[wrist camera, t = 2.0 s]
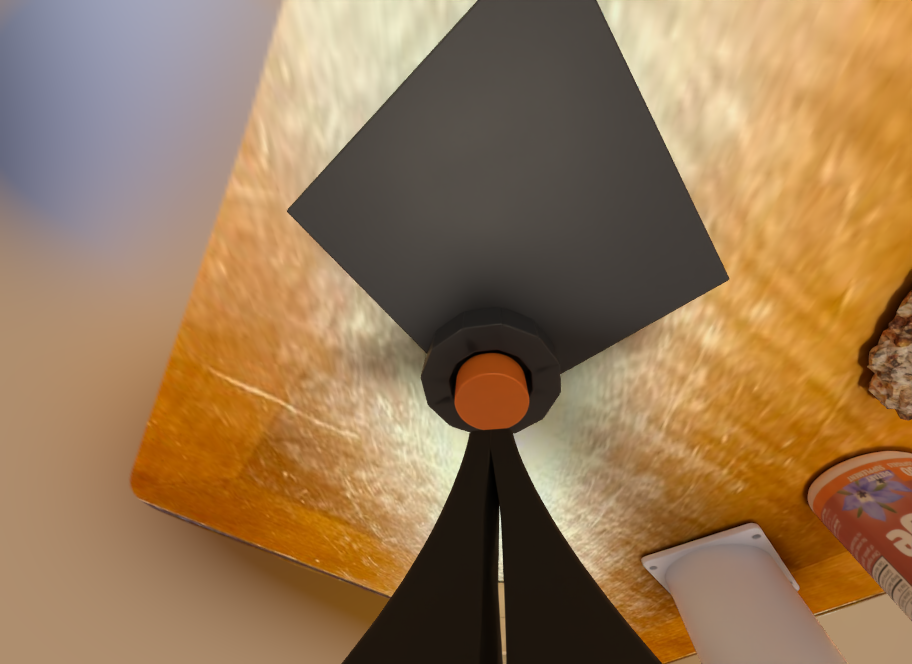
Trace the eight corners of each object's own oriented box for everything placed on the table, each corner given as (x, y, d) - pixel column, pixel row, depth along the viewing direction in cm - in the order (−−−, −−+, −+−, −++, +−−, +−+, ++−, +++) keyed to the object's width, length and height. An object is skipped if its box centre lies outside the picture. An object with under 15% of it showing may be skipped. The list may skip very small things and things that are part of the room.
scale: (713, 276, 15) (764, 304, 12) (478, 411, 19) (478, 453, 17) (546, -60, 10) (570, -131, 8) (288, 220, 15) (246, 236, 12)
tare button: (538, 386, 15) (544, 410, 14) (483, 416, 16) (484, 441, 15) (498, 339, 14) (500, 360, 12) (442, 375, 15) (439, 398, 14)
